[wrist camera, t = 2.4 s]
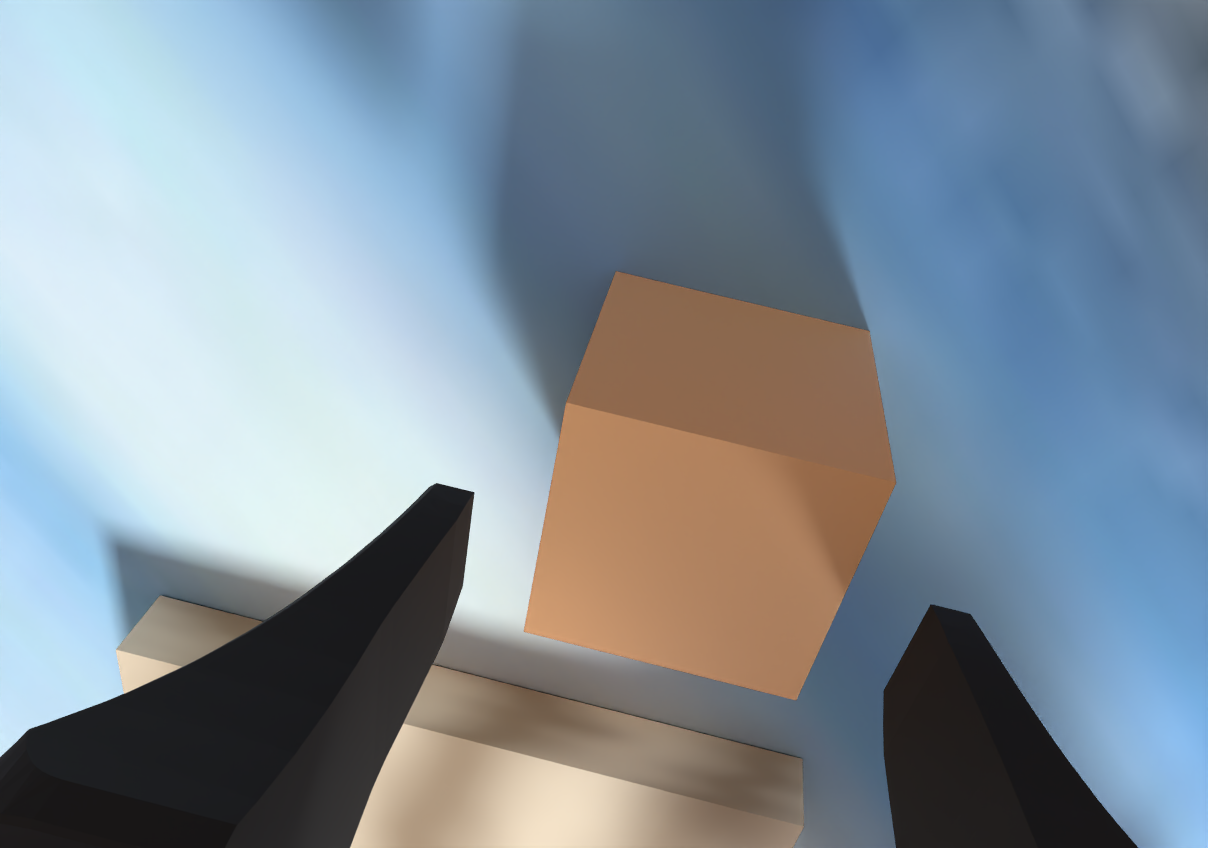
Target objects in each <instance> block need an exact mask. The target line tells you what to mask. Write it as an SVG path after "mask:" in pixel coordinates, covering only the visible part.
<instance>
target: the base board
mask: <svg viewBox="0 0 1208 848" xmlns="http://www.w3.org/2000/svg"><path fill="white" fill-rule="evenodd" d="M260 623H262V621H259V620H255V619H251V618H247V617H243V616H239V615H235V614H231V613H227V612H223V611H219V610H215V609H211V608H208V607H204V606H200V605H196V604H192V603H188V602H184V601H180V600H176V599H172V598H168V597H164V596H159V597H158V598H157V600H156V601H155V602H154V603H153V605H152V606H151V607H150V608H149V609H148V611H147V612H146V613H145V614H144V616H143V617H142V618H141V619H140V621H139V622H138V623H137V624H136V625H135V627H134V628H133V629H132V630H131V632H130V633H129V634H128V635H127V637H126V638H125V639H124V640H123V641H122V643H121V644H120V645H119V646H118V648H117V649H116V653H117V658H118V664H119V669H120V675H121V680H122V685H123V691H124V694H125V693H127V692H129V691H131V690H134V689H136V688H138V687H140V686H142V685H144V684H147V683H149V682H151V681H153V680H155V679H157V678H160V677H162V676H164V675H166V674H168V673H170V672H172V671H175V670H177V669H179V668H181V667H183V666H185V665H187V664H189V663H191V662H193V661H195V660H197V659H199V658H201V657H203V656H205V655H206V654H208V653H210V652H212V651H214V650H216V649H217V648H219V647H221V646H223V645H224V644H226V643H228V642H230V641H231V640H233V639H235V638H237V637H239V636H240V635H242V634H244V633H246V632H247V631H249V630H251V629H252V628H254V627H255V626H257V625H259V624H260ZM803 828H804V803H803V759H801V758H797V757H793V756H789V755H785V754H781V753H777V752H773V751H769V750H765V749H761V748H757V747H753V746H750V745H746V744H742V743H738V742H734V741H730V740H726V739H722V738H718V737H714V736H710V735H706V734H702V733H698V732H695V731H691V730H687V729H683V728H679V727H675V726H671V725H667V724H663V723H659V722H655V721H651V720H647V719H643V718H640V717H636V716H632V715H628V714H624V713H620V712H616V711H612V710H608V709H604V708H600V707H596V706H592V705H589V704H585V703H581V702H577V701H573V700H569V699H565V698H561V697H557V696H553V695H549V694H545V693H541V692H537V691H534V690H530V689H526V688H522V687H518V686H514V685H510V684H506V683H502V682H498V681H494V680H490V679H486V678H482V677H479V676H475V675H471V674H467V673H463V672H459V671H455V670H451V669H447V668H443V667H439V666H435V665H432V666H431V668H430V670H429V672H428V674H427V676H426V678H425V680H424V682H423V684H422V686H421V688H420V691H419V693H418V695H417V697H416V699H415V701H414V703H413V705H412V707H411V709H410V711H409V713H408V715H407V717H406V719H405V721H404V723H403V725H402V727H401V729H400V731H399V733H398V735H397V737H396V739H395V741H394V743H393V745H392V747H391V749H390V751H389V753H388V755H387V757H386V760H385V762H384V764H383V766H382V768H381V771H380V773H379V775H378V777H377V780H376V782H375V784H374V786H373V789H372V791H371V794H370V796H369V799H368V802H367V804H366V807H365V810H364V812H363V815H362V818H361V820H360V823H359V826H358V828H357V831H356V834H355V836H354V839H353V841H352V844H351V847H350V848H793V846H794V845H795V843H796V841H797V839H798V837H799V835H800V833H801V831H802V830H803Z"/></svg>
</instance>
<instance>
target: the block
mask: <svg viewBox="0 0 1208 848" xmlns="http://www.w3.org/2000/svg"><path fill="white" fill-rule="evenodd" d="M895 484H896V478H895V473H894V467H893V461H892V456H891V450H890V444H889V439H888V433H887V427H886V422H885V416H884V410H883V405H882V399H881V393H880V388H879V382H878V376H877V371H876V365H875V359H874V354H873V348H872V342H871V337H870V331H867V330H863V329H859V328H855V327H850V326H846V325H842V324H838V323H833V322H829V321H825V320H821V319H817V318H812V317H808V316H804V315H800V314H795V313H791V312H787V311H783V310H778V309H774V308H770V307H766V306H762V305H757V304H753V303H749V302H745V301H740V300H736V299H732V298H728V297H723V296H719V295H715V294H711V293H706V292H702V291H698V290H694V289H690V288H685V287H681V286H677V285H673V284H668V283H664V282H660V281H656V280H651V279H647V278H643V277H639V276H634V275H630V274H626V273H622V272H618V271H616V272H615V275H614V277H613V280H612V283H611V285H610V288H609V291H608V293H607V296H606V299H605V301H604V304H603V306H602V309H601V312H600V314H599V317H598V320H597V322H596V325H595V328H594V330H593V333H592V336H591V338H590V341H589V343H588V346H587V349H586V351H585V354H584V357H583V359H582V362H581V365H580V367H579V370H578V373H577V375H576V378H575V380H574V383H573V386H572V388H571V391H570V394H569V396H568V399H567V402H566V406H565V411H564V417H563V422H562V428H561V433H560V438H559V444H558V449H557V455H556V460H555V465H554V471H553V476H552V482H551V487H550V492H549V498H548V503H547V509H546V514H545V519H544V525H543V530H542V536H541V541H540V546H539V552H538V557H537V562H536V568H535V573H534V579H533V584H532V589H531V595H530V600H529V606H528V611H527V616H526V622H525V627H524V632H527V633H531V634H535V635H539V636H543V637H547V638H551V639H555V640H559V641H562V642H566V643H570V644H574V645H578V646H582V647H586V648H590V649H594V650H598V651H602V652H606V653H610V654H614V655H618V656H622V657H626V658H630V659H634V660H638V661H642V662H646V663H650V664H654V665H658V666H662V667H666V668H670V669H673V670H677V671H681V672H685V673H689V674H693V675H697V676H701V677H705V678H709V679H713V680H717V681H721V682H725V683H729V684H733V685H737V686H741V687H745V688H749V689H753V690H757V691H761V692H765V693H769V694H773V695H777V696H780V697H784V698H788V699H792V700H797V698H798V695H799V693H800V691H801V689H802V687H803V685H804V682H805V680H806V678H807V676H808V674H809V671H810V669H811V667H812V665H813V663H814V661H815V658H816V656H817V654H818V652H819V650H820V648H821V645H822V643H823V641H824V639H825V637H826V634H827V632H828V630H829V628H830V626H831V624H832V621H833V619H834V617H835V615H836V613H837V611H838V608H839V606H840V604H841V602H842V600H843V597H844V595H845V593H846V591H847V589H848V587H849V584H850V582H851V580H852V578H853V576H854V574H855V571H856V569H857V567H858V565H859V563H860V560H861V558H862V556H863V554H864V552H865V550H866V547H867V545H868V543H869V541H870V539H871V537H872V534H873V532H874V530H875V528H876V526H877V523H878V521H879V519H880V517H881V515H882V513H883V510H884V508H885V506H886V504H887V502H888V500H889V497H890V495H891V493H892V491H893V489H894V486H895Z"/></svg>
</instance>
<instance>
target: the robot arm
mask: <svg viewBox="0 0 1208 848" xmlns="http://www.w3.org/2000/svg"><path fill="white" fill-rule="evenodd" d="M473 499H474V492H471V491H467V490H463V489H458V488H454V487H450V486H446V485H442V484H438V483H436V484H434V485H432V486H430V487H429V488H428V489H427V490H426V491H425V492H424V493H423V494H422V495H421V496H420V497H419V498H418V499H417V500H416V501H415V502H414V503H413V504H412V505H411V506H410V507H409V508H408V509H407V510H406V511H405V512H404V513H403V514H402V515H400V516H399V517H398V518H397V519H396V520H395V521H394V522H393V523H392V524H391V525H390V526H388V527H387V528H386V529H385V530H384V531H383V532H382V533H381V534H380V535H378V536H377V537H376V538H375V539H374V540H373V541H371V542H370V543H369V544H368V545H367V546H365V547H364V548H363V549H362V550H361V551H360V552H358V553H357V554H356V555H355V556H354V557H352V558H351V559H350V560H349V561H348V562H346V563H345V564H344V565H343V566H341V567H340V568H339V569H337V570H336V571H335V572H333V573H332V574H331V575H329V576H328V577H327V578H325V579H324V580H323V581H321V582H320V583H319V584H317V585H316V586H315V587H313V588H312V589H311V590H309V591H308V592H307V593H305V594H304V595H303V596H301V597H300V598H298V599H297V600H295V601H294V602H293V603H291V604H290V605H288V606H287V607H285V608H284V609H282V610H281V611H279V612H278V613H276V614H275V615H273V616H271V617H270V618H268V619H267V620H265V621H263V622H262V623H260V624H259V625H257V626H255V627H254V628H252V629H251V630H249V631H247V632H246V633H244V634H242V635H240V636H239V637H237V638H235V639H233V640H231V641H230V642H228V643H226V644H224V645H223V646H221V647H219V648H217V649H216V650H214V651H212V652H210V653H208V654H206V655H205V656H203V657H201V658H199V659H197V660H195V661H193V662H191V663H189V664H187V665H185V666H183V667H181V668H179V669H177V670H175V671H172V672H170V673H168V674H166V675H164V676H162V677H160V678H157V679H155V680H153V681H151V682H149V683H147V684H144V685H142V686H140V687H138V688H136V689H134V690H131V691H129V692H127V693H125V694H122V695H120V696H118V697H115V698H113V699H111V700H108V701H106V702H103V703H100V704H98V705H95V706H92V707H90V708H87V709H84V710H81V711H79V712H76V713H73V714H71V715H68V716H65V717H62V718H60V719H57V720H54V721H52V722H49V723H46V724H43V725H40V726H37V727H34V728H31V729H29V730H28V731H27V732H26V733H25V734H24V735H23V736H22V737H21V738H20V739H19V740H18V741H17V742H16V743H15V744H14V745H13V746H12V747H11V748H10V749H9V750H7V751H6V752H5V753H4V754H3V755H2V756H1V757H0V848H350V847H351V844H352V841H353V839H354V836H355V834H356V831H357V828H358V826H359V823H360V820H361V818H362V815H363V812H364V810H365V807H366V804H367V802H368V799H369V796H370V794H371V791H372V789H373V786H374V784H375V782H376V780H377V777H378V775H379V773H380V771H381V768H382V766H383V764H384V762H385V760H386V757H387V755H388V753H389V751H390V749H391V747H392V745H393V743H394V741H395V739H396V737H397V735H398V733H399V731H400V729H401V727H402V725H403V723H404V721H405V719H406V717H407V715H408V713H409V711H410V709H411V707H412V705H413V703H414V701H415V699H416V697H417V695H418V693H419V691H420V688H421V686H422V684H423V682H424V680H425V678H426V676H427V674H428V672H429V670H430V668H431V666H432V664H433V662H434V660H435V658H436V656H437V654H438V651H439V649H440V647H441V645H442V643H443V641H444V638H445V635H446V632H447V629H448V627H449V624H450V621H451V618H452V615H453V613H454V610H455V607H456V604H457V601H458V598H459V595H460V592H461V590H462V587H463V580H464V572H465V564H466V556H467V548H468V540H469V532H470V524H471V515H472V507H473ZM883 738H884V760H885V768H886V776H887V784H888V791H889V799H890V807H891V814H892V821H893V828H894V835H895V843H896V848H1138V847H1137V846H1136V845H1135V843H1134V842H1133V841H1132V840H1131V839H1130V838H1129V837H1128V835H1127V834H1126V833H1125V832H1124V831H1123V830H1122V828H1121V827H1120V826H1119V825H1118V824H1117V823H1116V821H1115V820H1114V819H1113V818H1112V817H1111V815H1110V814H1109V813H1108V812H1107V810H1106V809H1105V808H1104V807H1103V805H1102V804H1101V803H1100V802H1099V801H1098V799H1097V798H1096V797H1095V795H1094V794H1093V793H1092V791H1091V790H1090V789H1089V787H1088V786H1087V785H1086V783H1085V782H1084V781H1083V780H1082V778H1081V777H1080V776H1079V774H1078V773H1077V772H1076V770H1075V769H1074V768H1073V766H1072V765H1071V764H1070V762H1069V761H1068V760H1067V758H1066V757H1065V755H1064V754H1063V753H1062V751H1061V750H1060V749H1059V747H1058V746H1057V744H1056V743H1055V742H1054V740H1053V739H1052V737H1051V736H1050V734H1049V733H1048V732H1047V730H1046V729H1045V727H1044V726H1043V724H1042V723H1041V721H1040V720H1039V718H1038V717H1037V715H1036V714H1035V712H1034V711H1033V710H1032V708H1031V707H1030V705H1029V704H1028V702H1027V701H1026V699H1025V697H1024V696H1023V694H1022V693H1021V691H1020V690H1019V688H1018V687H1017V685H1016V684H1015V682H1014V681H1013V679H1012V678H1011V676H1010V674H1009V673H1008V671H1007V670H1006V668H1005V667H1004V665H1003V664H1002V662H1001V660H1000V659H999V657H998V656H997V654H996V653H995V651H994V649H993V648H992V646H991V645H990V643H989V642H988V640H987V639H986V637H985V635H984V634H983V632H982V631H981V629H980V628H979V626H978V625H977V623H976V622H975V620H974V619H973V617H972V616H971V614H968V613H964V612H960V611H956V610H952V609H948V608H944V607H940V606H936V605H932V604H931V605H930V607H929V609H928V610H927V612H926V614H925V616H924V618H923V620H922V621H921V623H920V625H919V627H918V629H917V631H916V632H915V634H914V636H913V638H912V640H911V642H910V643H909V645H908V647H907V649H906V651H905V653H904V654H903V656H902V658H901V660H900V662H899V664H898V666H897V667H896V669H895V671H894V673H893V675H892V677H891V678H890V680H889V682H888V684H887V686H886V688H885V689H884V709H883Z"/></svg>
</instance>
